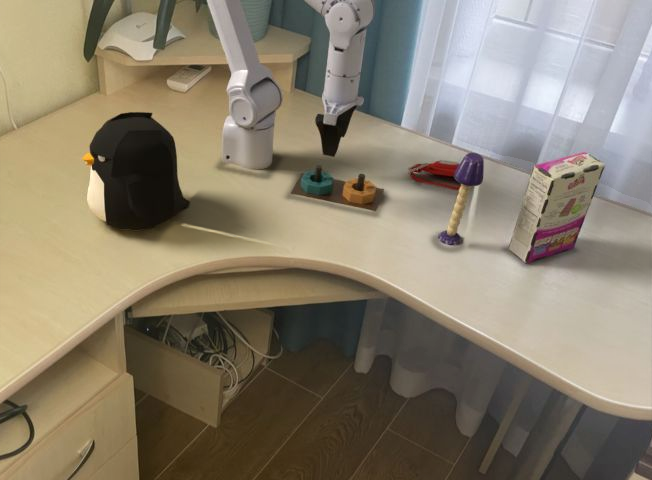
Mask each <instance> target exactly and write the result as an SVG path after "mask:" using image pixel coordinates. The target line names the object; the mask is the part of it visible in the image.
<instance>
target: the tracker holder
mask: <svg viewBox="0 0 652 480" xmlns="http://www.w3.org/2000/svg"><path fill="white" fill-rule="evenodd" d="M459 164H460V163H458V162H455V161H450V160H437V161H434V162H431V163H429V162H424V163H415V164H414V165H411V166H410V167H408V168H407V170H408V171H407V173H408V174H410V176H411V179H413V180H414V181H416V182H418V183H425V184H429V185H434V186H439V187H443V188H447V189H451V190H455V191H456V190H459V189H460V187H461V184H459V185H457V186H454V185H449V184H444V183H440V182H433V181H429V180H426V179H423V178H421V177H419V176H417V175H415V173H417V174H421V173H422V172H423V171H424V173H427V174H433V175H440V176H448V177H454V173H455V171H456V169H457V168H458V166H459Z"/></svg>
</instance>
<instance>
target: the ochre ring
mask: <svg viewBox="0 0 652 480" xmlns="http://www.w3.org/2000/svg"><path fill="white" fill-rule="evenodd" d="M345 181H346V183H345V185H344V187H343V196H344V197H345V198H346V199H347V200H348V201H349V202H353V203H357V204H366V203H369V202H373V200H374V197H375V194H376V188H378V187H377V186H376V185H375V184H374V183H373V182H372V181H371V180H367V179H365V181H364V187H363V191H362V192H361V191H356V189H357V182H358V177H357V178H353V179H348V180H345Z"/></svg>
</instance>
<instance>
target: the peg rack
mask: <svg viewBox="0 0 652 480" xmlns="http://www.w3.org/2000/svg"><path fill="white" fill-rule="evenodd" d="M314 170H315V179H314V182H317V183H321V174H322V171H323V166H322V165H320V164H317V165H315V169H314ZM304 173H305V172H301V173H300V175H299V177H298V178H297V181H296V182H295V184H294V186H293V188H292V189H291V192H290V194H291V195H295V196H296V195H297V196H301V197H305V198H310V199H315V200H320V201H325V202H329V203H335V204H339V205H344V206H350V207H354V208H359V209H364V210H368V211H371V212H376V211H377V209H378V207H379V204H380V201H381V198H382V196H383V195H384V191H385V189H384V188H380V187H377V188H376V194H375V197H374V200H373V202H369V203H366V204H357V203H353V202H349V201H348V200H347V199H346V198H345V197H344V196H343V187H344V185H345V183H346V181H347V180H340V179H335V178H334V184H333V188H332V190H331V192H330V193H328V194H323V195H314V194H309V193H306V192H305V191H304V190H303V189H302V188H301V178H302V176H303V175H304ZM357 178H358V182H357V189H356V191H361V192H362V191H363V187H364V181H365V180H366V175H365V174H364V173H359V174H358V177H357Z"/></svg>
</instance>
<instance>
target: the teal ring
mask: <svg viewBox="0 0 652 480" xmlns="http://www.w3.org/2000/svg"><path fill="white" fill-rule="evenodd" d="M303 173H304V175H303V176H302V178H301V188H302V189H303V190H304V191H305V192H306V193H309V194H314V195H323V194H328V193H330V192H331V190H332V188H333V184H334V179H335V177H334V176H333V175H332V174H330V173H329V172H328V171H324V170H322V174H321V183H317V182H314V179H315V169H313V170H309V171H305V172H303Z"/></svg>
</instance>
